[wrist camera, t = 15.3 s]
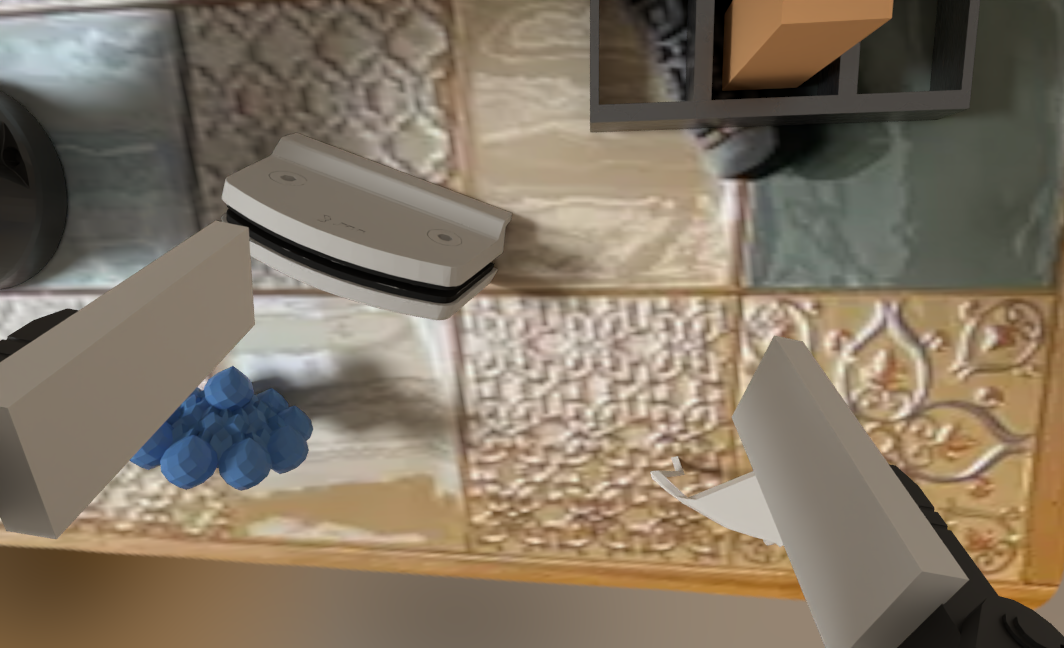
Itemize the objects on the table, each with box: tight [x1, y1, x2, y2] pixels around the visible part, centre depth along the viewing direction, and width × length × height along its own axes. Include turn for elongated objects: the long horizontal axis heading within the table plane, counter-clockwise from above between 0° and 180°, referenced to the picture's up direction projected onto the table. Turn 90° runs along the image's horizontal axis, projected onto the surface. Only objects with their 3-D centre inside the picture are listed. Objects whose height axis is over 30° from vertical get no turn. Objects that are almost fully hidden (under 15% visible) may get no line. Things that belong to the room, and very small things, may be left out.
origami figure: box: [651, 456, 783, 547], centre depth 36 cm, size 12×8×5 cm
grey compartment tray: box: [590, 0, 980, 132], centre depth 33 cm, size 21×9×3 cm, turn 91°
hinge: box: [221, 133, 512, 320], centre depth 34 cm, size 17×5×10 cm, turn 70°
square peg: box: [722, 0, 893, 91], centre depth 29 cm, size 4×4×11 cm
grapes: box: [130, 366, 313, 491], centre depth 35 cm, size 12×7×12 cm, turn 76°
